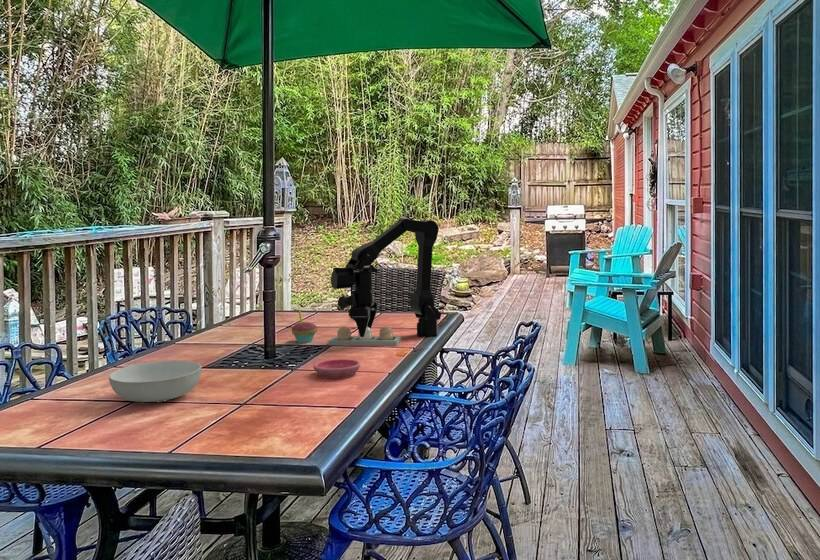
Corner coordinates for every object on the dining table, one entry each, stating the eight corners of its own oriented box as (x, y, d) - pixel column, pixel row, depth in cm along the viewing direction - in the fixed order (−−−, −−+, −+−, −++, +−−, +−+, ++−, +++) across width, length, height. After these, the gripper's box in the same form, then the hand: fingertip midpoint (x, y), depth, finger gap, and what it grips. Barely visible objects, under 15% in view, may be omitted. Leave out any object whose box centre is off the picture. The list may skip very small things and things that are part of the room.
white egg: (373, 341, 224) (372, 325, 224) (370, 344, 220) (370, 327, 219) (360, 341, 225) (359, 325, 224) (357, 343, 221) (356, 327, 220)
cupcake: (286, 344, 226) (285, 308, 225) (302, 340, 233) (300, 305, 232) (308, 346, 222) (306, 310, 221) (323, 341, 229) (321, 306, 228)
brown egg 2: (394, 341, 223) (393, 325, 223) (391, 344, 219) (391, 327, 218) (381, 341, 224) (380, 325, 223) (378, 344, 219) (377, 327, 219)
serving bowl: (93, 401, 162) (91, 373, 162) (171, 382, 179) (170, 356, 178) (141, 416, 149) (139, 385, 149) (220, 394, 166) (219, 366, 165)
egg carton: (401, 342, 225) (401, 336, 225) (397, 347, 217) (396, 341, 216) (335, 341, 228) (335, 336, 228) (328, 346, 220) (328, 340, 220)
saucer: (304, 375, 183) (304, 364, 183) (341, 367, 192) (340, 356, 191) (333, 383, 174) (332, 371, 174) (370, 374, 183) (369, 362, 182)
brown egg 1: (352, 341, 225) (351, 325, 225) (349, 343, 221) (348, 327, 220) (339, 341, 226) (338, 325, 225) (336, 343, 222) (335, 327, 221)
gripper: (346, 283, 231) (347, 329, 232) (331, 290, 212) (333, 339, 214) (378, 283, 229) (379, 329, 231) (366, 290, 211) (368, 339, 212)
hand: (365, 334), depth 222 cm, fingers open, 9 cm apart
